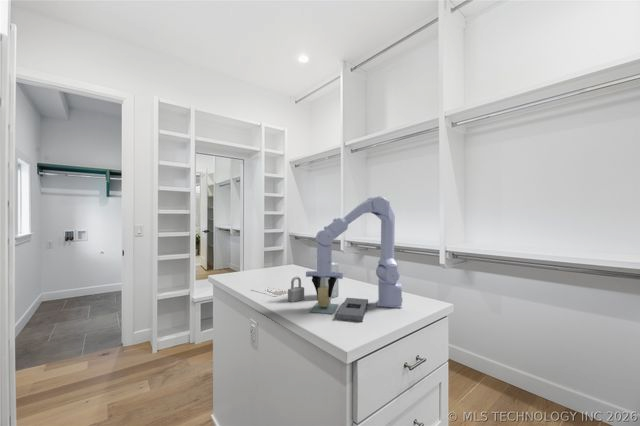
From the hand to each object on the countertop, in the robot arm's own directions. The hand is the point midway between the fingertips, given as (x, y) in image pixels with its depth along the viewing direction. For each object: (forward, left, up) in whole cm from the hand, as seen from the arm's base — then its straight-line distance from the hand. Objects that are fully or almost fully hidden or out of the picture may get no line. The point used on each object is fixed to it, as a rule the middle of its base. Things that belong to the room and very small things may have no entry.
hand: (324, 296), depth 111 cm
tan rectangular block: (0, 0, -3) cm, 3 cm away
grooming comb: (+32, -18, -5) cm, 37 cm away
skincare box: (+3, -16, -5) cm, 17 cm away
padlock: (+15, -8, -5) cm, 17 cm away
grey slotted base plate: (-11, 0, -5) cm, 12 cm away
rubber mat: (0, 0, -5) cm, 5 cm away
